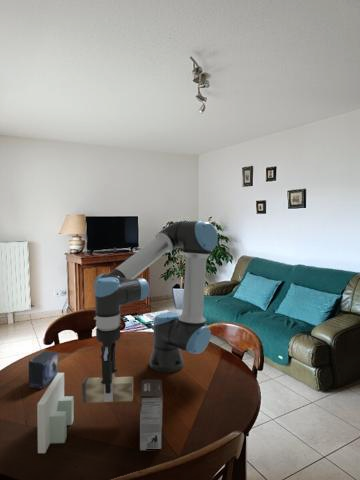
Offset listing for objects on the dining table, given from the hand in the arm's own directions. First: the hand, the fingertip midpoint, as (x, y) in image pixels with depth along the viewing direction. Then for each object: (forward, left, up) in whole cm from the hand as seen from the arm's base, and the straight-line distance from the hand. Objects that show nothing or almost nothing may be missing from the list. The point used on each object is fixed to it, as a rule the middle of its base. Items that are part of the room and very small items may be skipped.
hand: (109, 396), depth 102 cm
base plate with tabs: (+13, +5, -7) cm, 16 cm away
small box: (+30, -25, -8) cm, 39 cm away
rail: (0, 0, -1) cm, 1 cm away
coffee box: (-14, +10, -8) cm, 19 cm away
